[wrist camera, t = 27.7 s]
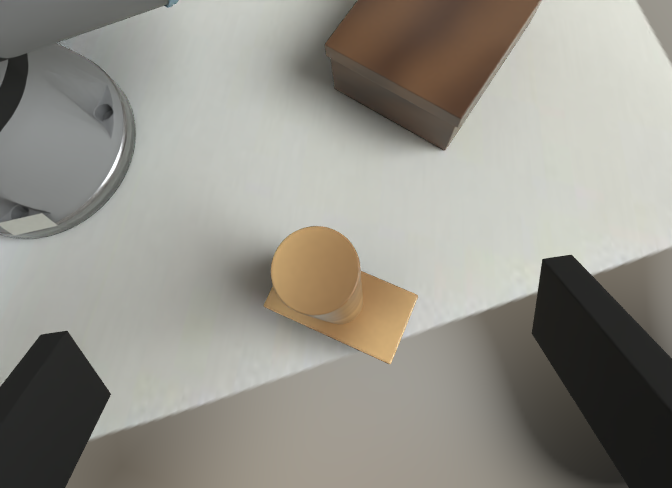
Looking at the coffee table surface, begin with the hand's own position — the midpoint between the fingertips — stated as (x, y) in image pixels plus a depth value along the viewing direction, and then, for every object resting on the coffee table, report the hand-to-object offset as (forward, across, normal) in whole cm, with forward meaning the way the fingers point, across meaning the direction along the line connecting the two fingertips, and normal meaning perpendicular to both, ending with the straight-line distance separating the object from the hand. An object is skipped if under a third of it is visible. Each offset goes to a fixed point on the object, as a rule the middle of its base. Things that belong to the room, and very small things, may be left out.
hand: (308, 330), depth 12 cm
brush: (+13, 0, -11) cm, 17 cm away
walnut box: (+26, +10, +2) cm, 28 cm away
